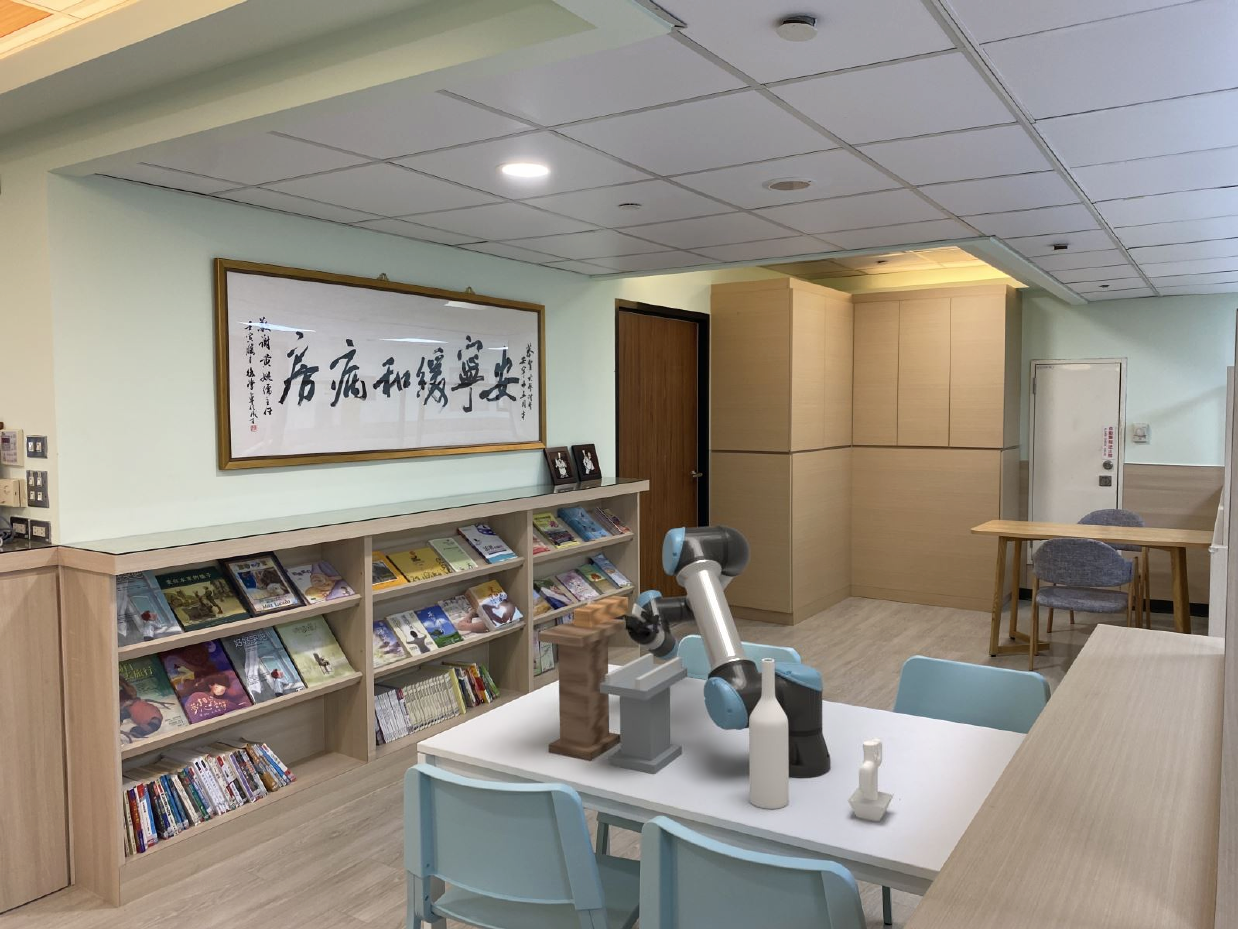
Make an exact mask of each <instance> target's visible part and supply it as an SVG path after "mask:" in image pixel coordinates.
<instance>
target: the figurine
mask: <svg viewBox="0 0 1238 929" xmlns="http://www.w3.org/2000/svg"><path fill="white" fill-rule="evenodd" d="M862 749H863V763H862V764H861V765H860V767H859V770H858V788H856V790H854V792H853V793H852V794H851V795H850V797H849V798H848V799H847V802H848V804H849V806H850V807H851V809H852V810H853V812H854V815H855V816H856V817H857V818H860V819H864V820H868V821H873V822H878V823H879V822H880V821H881V819H882V818H883V817H884V815H885V813H886V811H887V809H888V808H889V805H890V803H891V801H892V800H893V798H894V793H893V794H891V793H887V792H882V791H879V787H878V786H879V784H878V783H879V780H878V779H879V778H878V776H879V774H878V773H879V767H880V766H881V764H882V762H883V741H882V740H881V739H879V738H876V737H875V738H872V739H871V740H864V741H863V742H862Z"/></svg>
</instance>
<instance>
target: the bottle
mask: <svg viewBox="0 0 1238 929" xmlns="http://www.w3.org/2000/svg"><path fill="white" fill-rule="evenodd" d="M761 673H762V695H761V699H760V700H759V702H758V703H757V705H756V707H755V708H754V710H753V711H752V713H751V715H750V718H749V728H748V740H749V744H748V746H749V747H748V748H749V749H748V750H749V752H748V754H749V757H748V758H749V760H748V761H749V767H748V768H749V801H750V803H751V804H752V805H753V806H755V807H758V808H761V809H766V810H778V809H782V808H784V807H787V805H788V804H789V801H790V800H789V798H790V796H789V795H790V793H789V792H790V790H789V789H790V784H789V780H790V779H789V777H790V776H789V762H788V719H787V716H786V714H785V712H784V711H783V709H782V708H781V706H780V704H779V703H778V701H777V699H776V697H775V659H774V658H768V657H766V658H762V659H761Z"/></svg>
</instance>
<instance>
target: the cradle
mask: <svg viewBox="0 0 1238 929" xmlns="http://www.w3.org/2000/svg"><path fill="white" fill-rule="evenodd" d="M682 658H683V657H682V656H681V657H680V656H676V657H675V658H674V657H673V658H671V659H669V660H668V661H667V662H665V663H663V664H660V663H654V655H653V654H652V653H650V652H649V653H647V654H644V655H642V656H639V657H638V658H636V659H634V660H632V661H629V662H628V663H626V664H624V665H622V666H619V667H618V668H615V669H614V670H611V671H610V672H608V674H605V682H603V683H601V684H600V693H605V694H609V695H612V696H618V697H619V728H620V729H619V732H620V733H619V734H620V743H619V744H620V749H618V750H617V751H615V752H613V753H612V754H610V755H609V756H608V765H609V766H613V767H617V768H622V769H627V770H633V771H638V772H641V773H648V774H652V775H655V774H657V773H658V772H660V771H661V770H662V769H665V767H667V766H668V765H669V764H670V763H672V762H673V761H674V760H676V759H677V758H679V757H680V756H681V755H682V754H683V746H682V745H679V744H674V743H671V742H672V741H671V689H670V688H671V687H672V686H673V685H675V684H676V683H679V682H680V681H681V680H684V679H685V678H687V677H688V668H687V667H682V665H683V664H682V663H683V662H682V661H683V660H682Z"/></svg>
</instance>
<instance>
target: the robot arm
mask: <svg viewBox="0 0 1238 929" xmlns="http://www.w3.org/2000/svg"><path fill="white" fill-rule="evenodd" d="M661 555H662V558H661V559H662V565H663V570H664V573H665V574H667V575H669V576H673V575H674V576H675V579H676V582H677V584H678V585H679V586H680V587H682V588H685V591H686V593H687V594H686V595H685V596H684V595H683V596H674V597H673V596H672V597H671V596H670V597H663V595H662V593H661V592H660V591H659V590H654V589H651V590H646V591H643V592H641V593H640V594H639V595H638V597H637V599H636V603H633V605H632V610H631V611H632V612H631V615H633V616H631V615H630V616H629V615H627V614H624V615H621V616H619V617H616V618H614V619H619V620H626V628H625V629H624V630H625V631H626V632H628V636H629V638H630V639H631V640H632V641H634V642H635V643H636V644H638V645H640V646H641V647H642V648H644V650H645V651H647V652H649V653H651V654H653V657H655V658H658V659H660V660H663V661H670V660H672V659H674V657H675V656H676V655H677V653H678V651H679V647H680V646H679V641H678V639H677V638H676V637H675V635H673V634H672V630H671V626H670V625H671V624H681V623H683V624H684V623H694V622H696V625H697V628H698V631H699V635H700V638H701V641H702V645H703V647H704V650H705V653H706V657H707V660H708V663H709V666H710V671H709V673H707V680H706V681H705V684H704V686H703V696H704V698H705V699H704V704H705V708H706V710H707V713H708V715H709V718H711V721H712V722H713V723H714V725H716V726H717V727H719V728H720V729H722V730H725V731H728V730H729V731H731V730H735V731H736V730H737V731H741V730H744V729H749V718H750V715H751V713H752V711H753V710H754V708H755V707H756V705H757V703H758V702H759V700H760V699H761V695H762V672H759V670H758V667H757V664H756V662H755V661H754V660H753V659H750V658H748V657H747V656H746V653H745V650H744V647H743V646H744V645H743V644H742V641H741V638H740V635H739V632H738V630H737V627H736V624H735V621H734V618H733V616H732V613H731V609H730V607H729V604H728V600H727V598H726V595H725V592H724V591H725V589H726V588H727V586H728V585H729V584H730V582H732V580H733V579H734V578H736V577H738V576H740V575H741V574H742V573H743V572H744V571H745V570H746V568H747V566H748V564H749V563H750V559H751V548H750V545H749V542H748V540H747V539H746V537H745V535H744V534H742V532H740V531H739V530H738V529H736V528H733V527H731V526H727V525H715V526H696V527H693V526H692V527H685V526H682V527H679V528H672V529H670V530H668V531H667V533H666V534H665V537H664V540H663V545H662V554H661ZM594 602H595V601H594V600H593V599H592V598H588V601H587V604H586V605H589V604H592V603H594ZM774 663H775V697H776V699H777V701H778V703H779V704H780V706H781V708H782V709H783V711H784V712H785V714H786V716H787V719H788V762H789V777H792V778H813V777H818V776H821V775H823V774H826V773H828V772H829V771H830V769H831V756H830V753H829V750H828V745H827V742H826V740H825V738H824V734H823V692H824V689H823V686H824V685H823V678H822V674H821V672H820V671H819V670H818V669H817V668H814V667H812V666H809V665H805V664H802V663H798V662H797V663H796V662H788V661H774Z"/></svg>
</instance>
